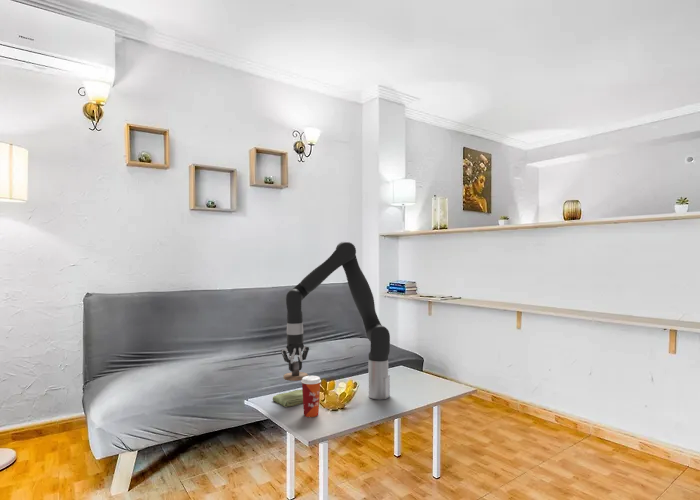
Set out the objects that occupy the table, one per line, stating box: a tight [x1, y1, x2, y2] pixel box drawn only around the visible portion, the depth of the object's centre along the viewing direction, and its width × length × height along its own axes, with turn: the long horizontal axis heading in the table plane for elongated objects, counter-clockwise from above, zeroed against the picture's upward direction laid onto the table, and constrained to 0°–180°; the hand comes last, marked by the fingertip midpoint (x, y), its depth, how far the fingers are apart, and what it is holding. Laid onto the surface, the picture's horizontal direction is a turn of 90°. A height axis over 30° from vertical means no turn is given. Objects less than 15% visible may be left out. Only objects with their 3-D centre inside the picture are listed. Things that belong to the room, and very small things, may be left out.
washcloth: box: [272, 389, 303, 408], centre depth 190 cm, size 13×18×3 cm
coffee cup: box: [300, 375, 322, 418], centre depth 172 cm, size 8×8×15 cm
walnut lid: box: [282, 360, 309, 382], centre depth 191 cm, size 11×11×7 cm
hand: (295, 370), depth 191 cm, fingers closed on walnut lid, 3 cm apart
